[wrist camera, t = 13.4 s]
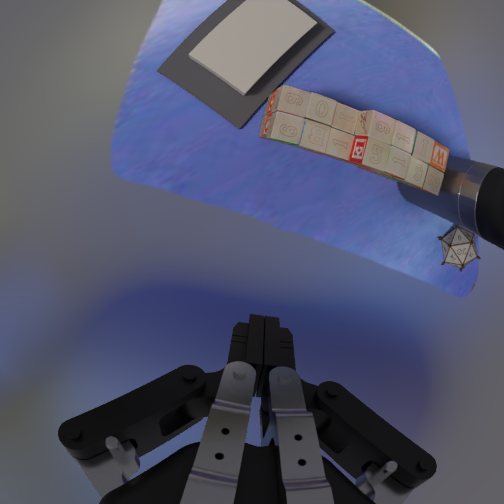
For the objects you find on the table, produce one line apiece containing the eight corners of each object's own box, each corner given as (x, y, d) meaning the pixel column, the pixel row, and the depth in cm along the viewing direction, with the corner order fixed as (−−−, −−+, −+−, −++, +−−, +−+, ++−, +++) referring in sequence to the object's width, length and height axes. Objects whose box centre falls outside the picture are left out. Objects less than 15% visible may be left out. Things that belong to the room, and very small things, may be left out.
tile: (244, 93, 30) (317, 22, 27) (188, 54, 27) (265, -15, 24) (243, 96, 32) (312, 27, 29) (190, 58, 29) (262, -8, 26)
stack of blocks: (257, 138, 35) (274, 137, 24) (268, 95, 33) (290, 75, 22) (388, 179, 39) (439, 197, 28) (398, 142, 37) (451, 150, 26)
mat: (239, 129, 34) (239, 129, 34) (157, 71, 30) (156, 70, 29) (333, 31, 29) (334, 30, 29) (258, -22, 25) (258, -24, 24)
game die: (431, 242, 49) (436, 281, 43) (439, 210, 43) (448, 250, 37) (467, 245, 46) (475, 284, 40) (478, 215, 40) (491, 254, 34)
